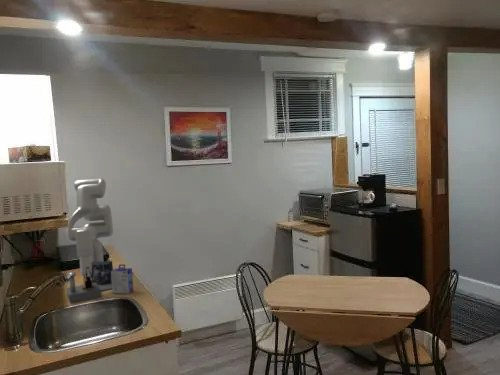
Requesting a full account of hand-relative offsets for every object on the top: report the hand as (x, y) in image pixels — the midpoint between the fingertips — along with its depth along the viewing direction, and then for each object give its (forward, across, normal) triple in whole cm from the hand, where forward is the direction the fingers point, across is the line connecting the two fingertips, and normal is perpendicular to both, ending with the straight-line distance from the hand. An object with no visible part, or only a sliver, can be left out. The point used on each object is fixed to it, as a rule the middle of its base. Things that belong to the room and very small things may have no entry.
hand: (88, 286), depth 233 cm
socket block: (+5, 0, -2) cm, 5 cm away
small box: (+5, -18, +9) cm, 21 cm away
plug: (+5, 0, 0) cm, 5 cm away
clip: (-7, +5, -9) cm, 13 cm away
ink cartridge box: (+5, +6, +16) cm, 18 cm away
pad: (+5, -7, +10) cm, 13 cm away
